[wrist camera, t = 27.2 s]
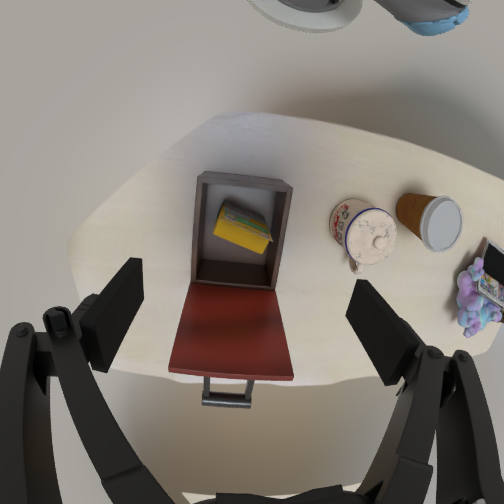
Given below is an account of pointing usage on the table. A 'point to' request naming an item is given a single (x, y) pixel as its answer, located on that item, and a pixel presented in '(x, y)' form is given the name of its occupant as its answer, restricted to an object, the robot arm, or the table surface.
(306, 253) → the table surface
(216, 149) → the table surface
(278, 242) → the chest
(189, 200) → the table surface
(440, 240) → the disposable coffee cup
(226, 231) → the crayon box
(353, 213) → the teacup with lid
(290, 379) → the lid
